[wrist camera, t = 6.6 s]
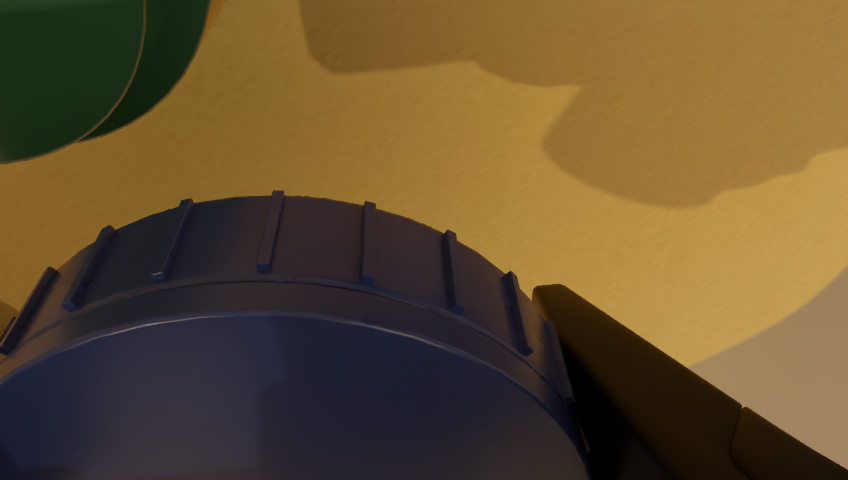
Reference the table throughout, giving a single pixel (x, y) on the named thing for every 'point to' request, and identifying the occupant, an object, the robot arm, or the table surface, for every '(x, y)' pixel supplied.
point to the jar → (89, 66)
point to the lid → (284, 355)
